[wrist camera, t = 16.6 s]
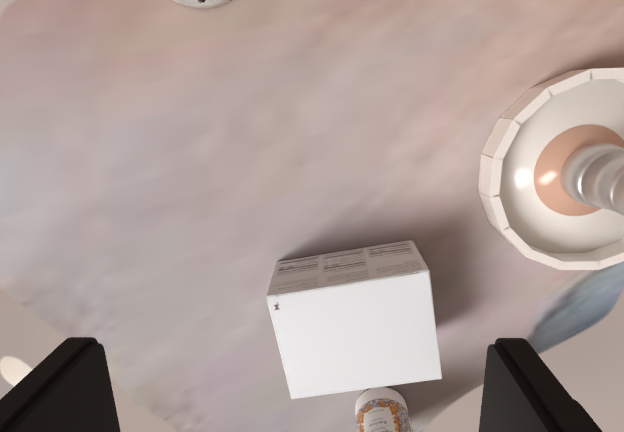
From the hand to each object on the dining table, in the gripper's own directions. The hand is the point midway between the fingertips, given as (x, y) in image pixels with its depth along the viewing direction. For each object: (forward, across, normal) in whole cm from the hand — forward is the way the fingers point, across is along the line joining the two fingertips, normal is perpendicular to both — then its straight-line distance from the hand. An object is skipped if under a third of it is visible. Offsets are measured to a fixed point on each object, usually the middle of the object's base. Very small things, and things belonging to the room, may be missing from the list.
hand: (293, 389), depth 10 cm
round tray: (+38, -28, +2) cm, 47 cm away
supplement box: (+39, -3, +18) cm, 43 cm away
